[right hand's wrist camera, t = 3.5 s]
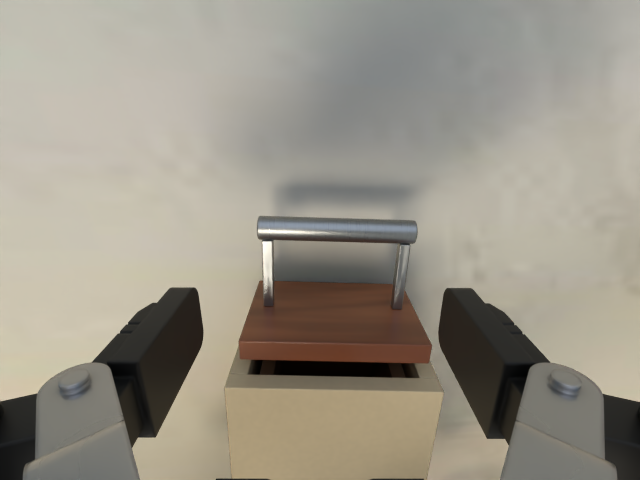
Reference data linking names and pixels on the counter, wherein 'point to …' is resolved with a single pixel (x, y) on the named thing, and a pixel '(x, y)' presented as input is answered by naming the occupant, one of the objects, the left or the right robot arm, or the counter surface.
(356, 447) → the cabinet
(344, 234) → the drawer
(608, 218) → the counter surface
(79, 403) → the right robot arm
